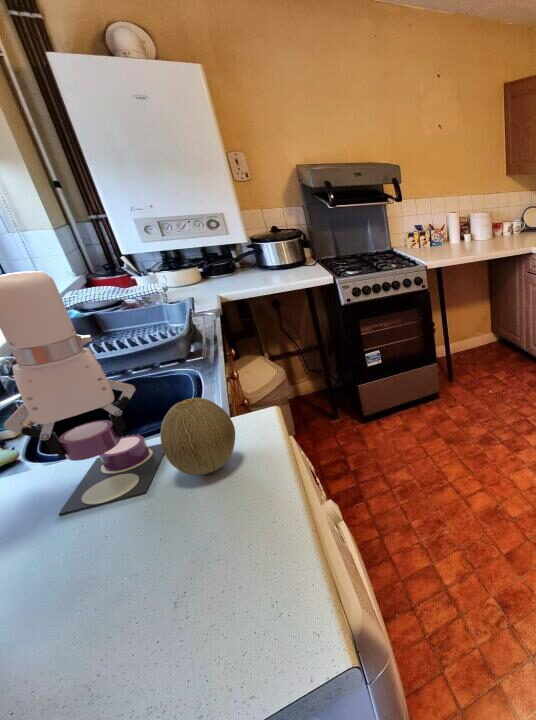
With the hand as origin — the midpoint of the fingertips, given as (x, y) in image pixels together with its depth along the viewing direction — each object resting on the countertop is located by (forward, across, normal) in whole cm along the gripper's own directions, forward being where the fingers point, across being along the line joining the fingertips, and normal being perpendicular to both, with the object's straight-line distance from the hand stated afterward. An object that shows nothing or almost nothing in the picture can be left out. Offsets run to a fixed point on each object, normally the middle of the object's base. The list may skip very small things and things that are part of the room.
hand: (91, 443), depth 76 cm
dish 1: (+1, 0, 0) cm, 1 cm away
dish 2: (+10, -4, -8) cm, 13 cm away
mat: (+10, -2, -4) cm, 11 cm away
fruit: (+10, -14, +7) cm, 18 cm away
